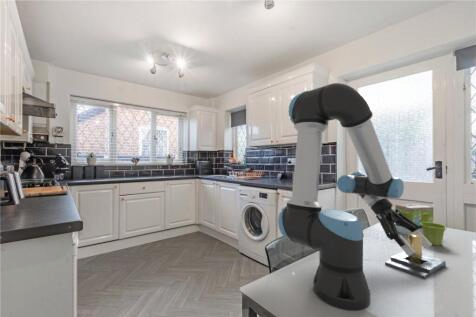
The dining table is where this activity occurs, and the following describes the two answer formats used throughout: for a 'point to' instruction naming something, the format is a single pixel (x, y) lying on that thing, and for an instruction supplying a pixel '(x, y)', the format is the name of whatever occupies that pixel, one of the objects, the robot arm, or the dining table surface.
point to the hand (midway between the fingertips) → (420, 250)
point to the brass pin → (415, 248)
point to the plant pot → (433, 232)
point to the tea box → (415, 215)
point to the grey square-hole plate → (410, 269)
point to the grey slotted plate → (428, 261)
